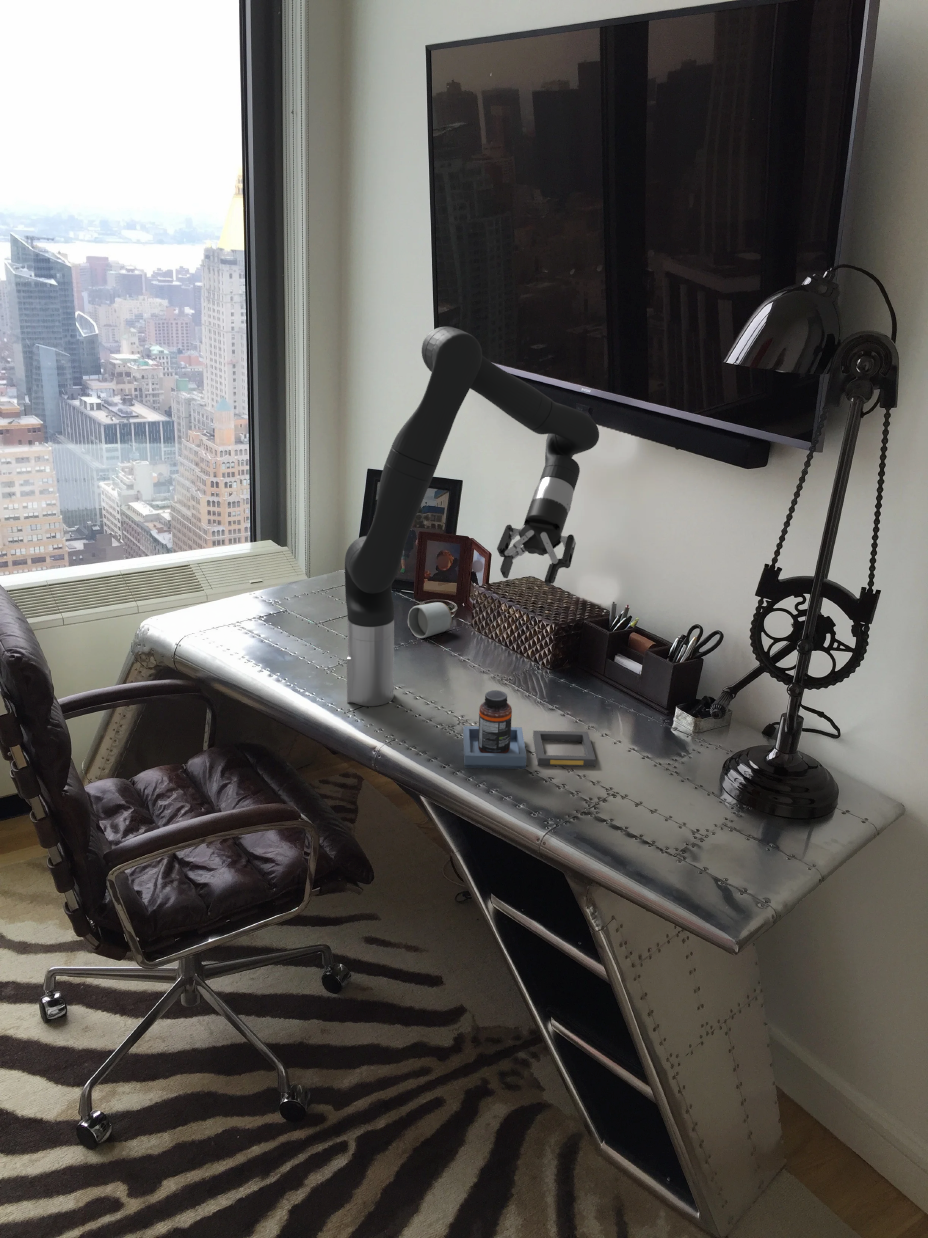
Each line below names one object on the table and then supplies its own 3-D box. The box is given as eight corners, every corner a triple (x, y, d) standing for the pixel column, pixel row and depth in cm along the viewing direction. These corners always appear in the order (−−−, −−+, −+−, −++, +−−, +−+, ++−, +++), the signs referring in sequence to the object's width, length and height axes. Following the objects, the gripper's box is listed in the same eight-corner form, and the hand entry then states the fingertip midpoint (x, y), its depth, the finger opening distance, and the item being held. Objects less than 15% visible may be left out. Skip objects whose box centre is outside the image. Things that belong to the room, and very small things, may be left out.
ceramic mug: (454, 634, 234) (454, 603, 231) (428, 642, 229) (428, 611, 226) (424, 621, 241) (424, 591, 239) (398, 629, 236) (398, 599, 233)
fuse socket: (537, 765, 179) (538, 758, 178) (532, 737, 189) (533, 730, 188) (595, 767, 179) (595, 759, 179) (587, 738, 189) (587, 731, 188)
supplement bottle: (489, 738, 186) (492, 684, 182) (516, 748, 183) (519, 693, 179) (471, 751, 182) (473, 695, 177) (498, 761, 179) (501, 705, 174)
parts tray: (464, 767, 177) (464, 755, 176) (463, 737, 187) (463, 726, 187) (525, 769, 178) (526, 756, 177) (521, 739, 188) (521, 727, 187)
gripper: (511, 491, 191) (485, 564, 185) (582, 501, 185) (558, 577, 180) (519, 511, 197) (495, 583, 192) (588, 521, 192) (565, 595, 186)
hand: (525, 580), depth 186 cm, fingers open, 8 cm apart
